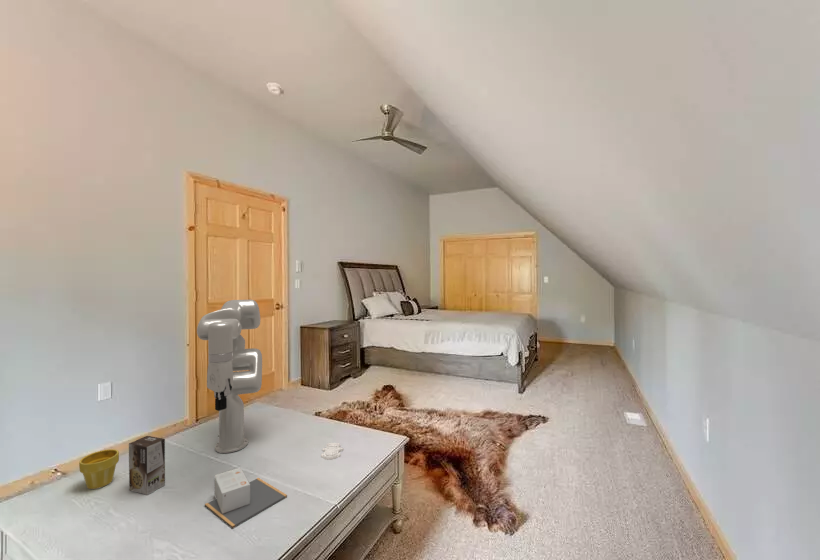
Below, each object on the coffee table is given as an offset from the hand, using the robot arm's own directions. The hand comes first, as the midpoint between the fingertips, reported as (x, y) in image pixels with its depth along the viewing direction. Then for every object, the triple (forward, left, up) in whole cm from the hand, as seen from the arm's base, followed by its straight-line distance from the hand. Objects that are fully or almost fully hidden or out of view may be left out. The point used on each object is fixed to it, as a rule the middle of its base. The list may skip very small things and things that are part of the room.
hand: (220, 409), depth 122 cm
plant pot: (-34, -25, -26) cm, 50 cm away
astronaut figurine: (+15, +38, -27) cm, 49 cm away
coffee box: (-18, -16, -26) cm, 35 cm away
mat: (+17, 0, -26) cm, 31 cm away
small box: (+7, -1, -22) cm, 23 cm away
